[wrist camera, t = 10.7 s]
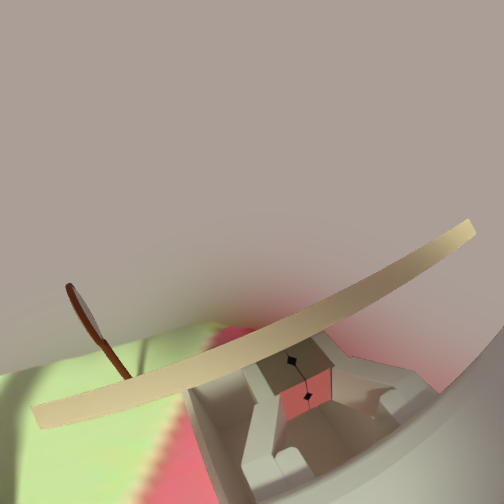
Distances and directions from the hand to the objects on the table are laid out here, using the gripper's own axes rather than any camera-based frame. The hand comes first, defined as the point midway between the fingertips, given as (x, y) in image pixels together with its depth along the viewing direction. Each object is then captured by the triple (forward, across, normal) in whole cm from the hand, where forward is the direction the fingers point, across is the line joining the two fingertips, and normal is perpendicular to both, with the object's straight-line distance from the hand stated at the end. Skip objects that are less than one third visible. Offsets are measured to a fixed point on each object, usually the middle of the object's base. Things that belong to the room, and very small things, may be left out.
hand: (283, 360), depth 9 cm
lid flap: (+6, 0, +5) cm, 7 cm away
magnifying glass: (+25, +16, +25) cm, 38 cm away
